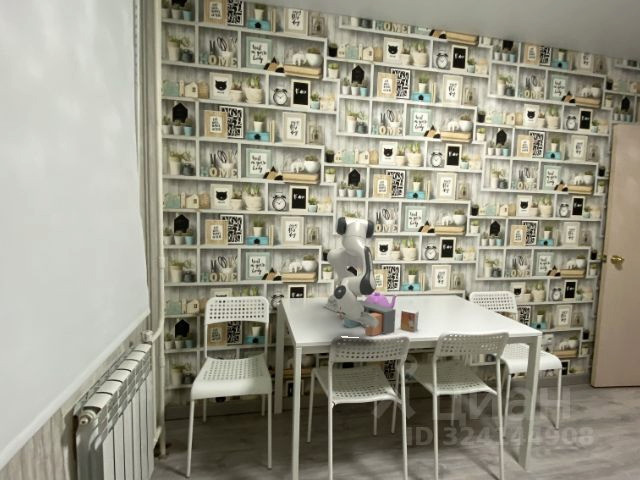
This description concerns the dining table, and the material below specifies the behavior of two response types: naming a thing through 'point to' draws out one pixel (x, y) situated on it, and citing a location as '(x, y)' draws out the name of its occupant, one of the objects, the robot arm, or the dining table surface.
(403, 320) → the small box
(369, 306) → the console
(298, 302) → the dining table surface
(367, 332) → the orange rounded block
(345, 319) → the teal rectangular block
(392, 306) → the teapot
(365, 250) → the robot arm
